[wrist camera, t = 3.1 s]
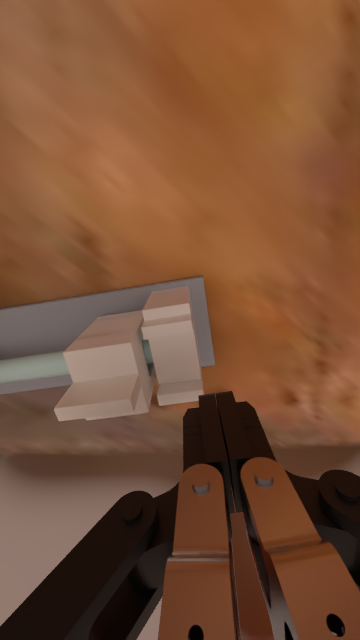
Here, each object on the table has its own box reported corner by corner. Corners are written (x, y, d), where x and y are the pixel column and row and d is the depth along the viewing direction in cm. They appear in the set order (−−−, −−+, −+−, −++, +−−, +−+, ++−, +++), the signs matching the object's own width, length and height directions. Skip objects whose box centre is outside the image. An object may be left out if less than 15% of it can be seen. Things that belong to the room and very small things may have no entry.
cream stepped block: (146, 309, 21) (120, 363, 12) (158, 362, 22) (142, 442, 14) (98, 316, 21) (40, 374, 13) (113, 369, 22) (70, 451, 14)
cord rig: (202, 275, 22) (209, 297, 15) (214, 361, 24) (225, 412, 17) (-84, 322, 24) (-194, 360, 17) (-45, 396, 26) (-127, 455, 19)
